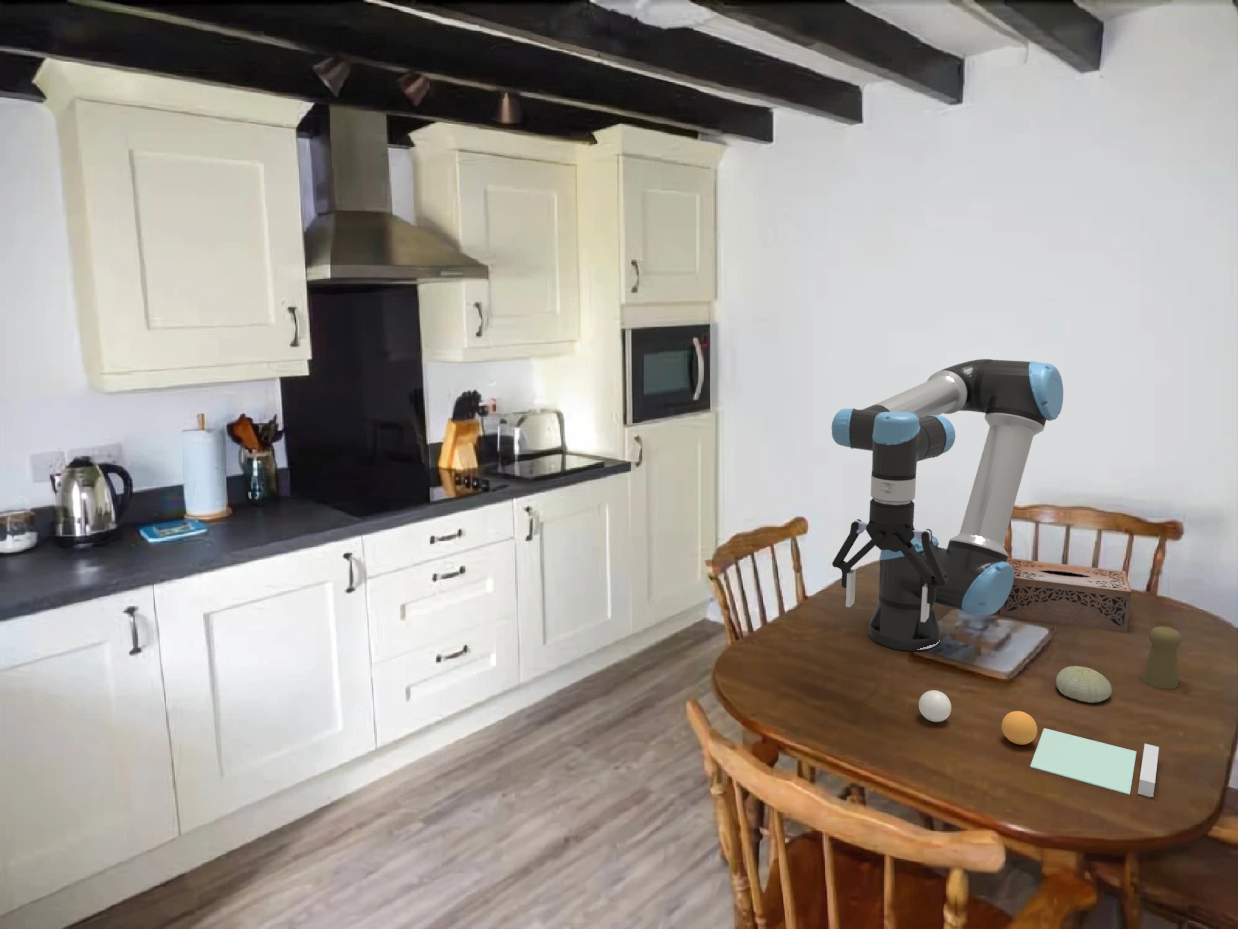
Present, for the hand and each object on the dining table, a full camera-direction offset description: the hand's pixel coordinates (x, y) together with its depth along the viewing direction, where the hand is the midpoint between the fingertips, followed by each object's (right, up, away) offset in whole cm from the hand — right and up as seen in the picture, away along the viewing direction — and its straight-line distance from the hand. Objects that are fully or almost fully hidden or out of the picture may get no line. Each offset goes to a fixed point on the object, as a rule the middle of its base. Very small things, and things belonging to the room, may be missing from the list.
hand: (886, 612), depth 153 cm
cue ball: (+8, -17, -2) cm, 19 cm away
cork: (+57, -16, +11) cm, 60 cm away
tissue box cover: (+56, -9, +45) cm, 72 cm away
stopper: (+35, -23, -20) cm, 46 cm away
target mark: (+28, -22, -15) cm, 38 cm away
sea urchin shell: (+40, -17, +7) cm, 44 cm away
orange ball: (+20, -18, -10) cm, 28 cm away
